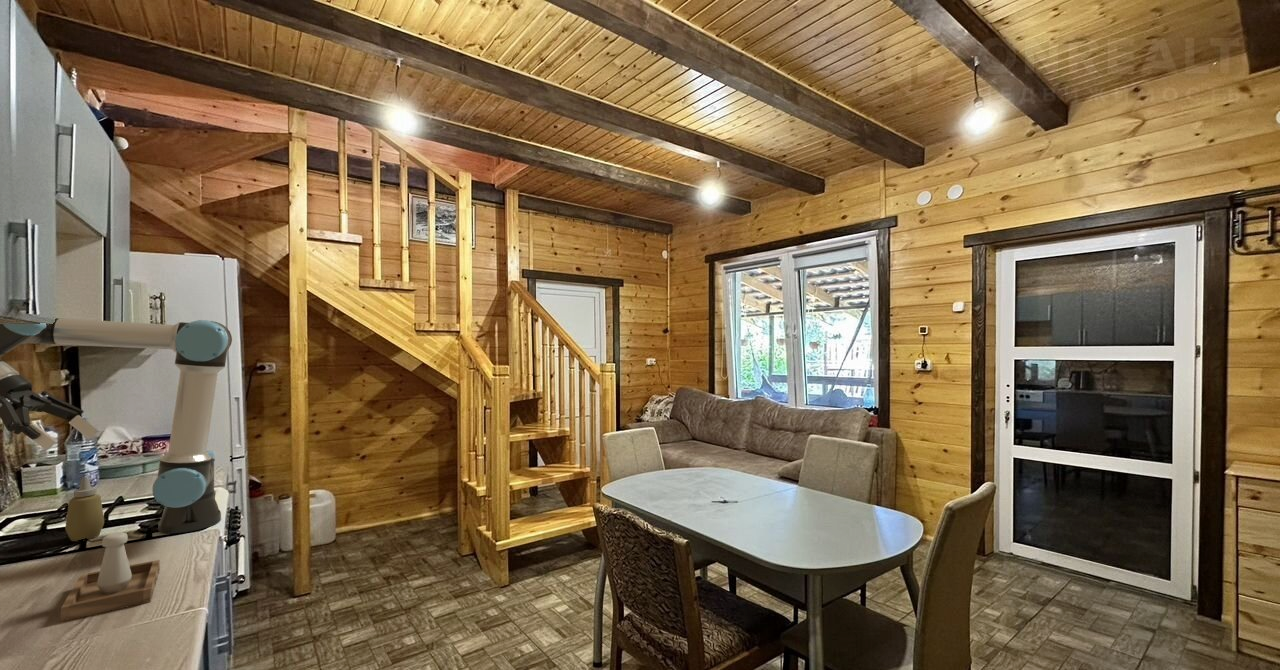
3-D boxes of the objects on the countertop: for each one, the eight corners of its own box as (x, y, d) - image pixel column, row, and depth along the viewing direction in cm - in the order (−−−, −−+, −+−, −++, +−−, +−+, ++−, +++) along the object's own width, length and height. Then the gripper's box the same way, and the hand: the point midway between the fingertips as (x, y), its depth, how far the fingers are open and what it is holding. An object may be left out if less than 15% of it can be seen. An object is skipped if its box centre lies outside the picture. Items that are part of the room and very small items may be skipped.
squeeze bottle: (92, 541, 155) (92, 479, 155) (57, 544, 152) (57, 481, 152) (111, 531, 163) (111, 472, 162) (77, 534, 160) (77, 474, 160)
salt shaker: (109, 597, 121) (109, 540, 121) (90, 594, 123) (90, 537, 123) (138, 585, 127) (138, 531, 127) (120, 582, 128) (120, 528, 128)
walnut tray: (81, 586, 128) (81, 574, 128) (159, 571, 137) (159, 559, 137) (61, 621, 113) (61, 607, 113) (150, 601, 121) (150, 588, 121)
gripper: (33, 388, 148) (98, 440, 151) (-63, 400, 124) (17, 462, 127) (56, 369, 149) (120, 421, 153) (-34, 377, 125) (45, 439, 128)
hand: (74, 440), depth 140 cm, fingers open, 13 cm apart
